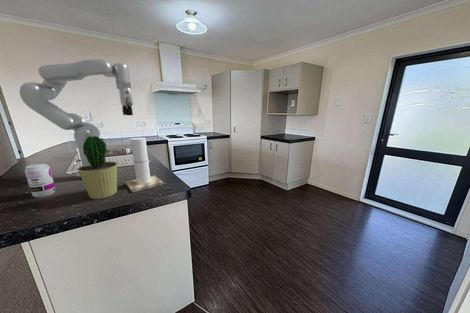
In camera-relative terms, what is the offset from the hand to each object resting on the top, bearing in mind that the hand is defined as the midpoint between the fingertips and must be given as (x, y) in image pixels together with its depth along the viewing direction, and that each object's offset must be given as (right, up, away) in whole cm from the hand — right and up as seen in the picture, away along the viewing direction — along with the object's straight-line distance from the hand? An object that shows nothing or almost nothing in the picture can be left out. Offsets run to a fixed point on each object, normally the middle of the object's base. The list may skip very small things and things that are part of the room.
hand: (127, 115), depth 111 cm
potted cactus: (+1, -45, -22) cm, 50 cm away
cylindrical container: (+16, -41, -10) cm, 45 cm away
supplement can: (-28, -45, -23) cm, 58 cm away
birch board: (+16, -42, -10) cm, 46 cm away
